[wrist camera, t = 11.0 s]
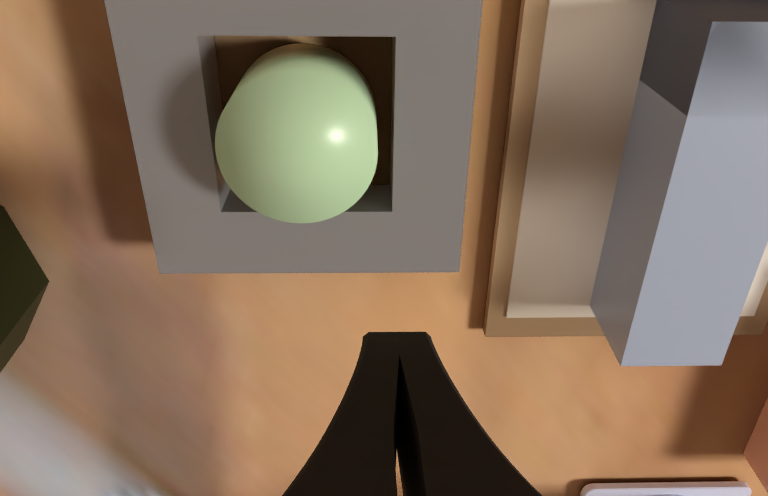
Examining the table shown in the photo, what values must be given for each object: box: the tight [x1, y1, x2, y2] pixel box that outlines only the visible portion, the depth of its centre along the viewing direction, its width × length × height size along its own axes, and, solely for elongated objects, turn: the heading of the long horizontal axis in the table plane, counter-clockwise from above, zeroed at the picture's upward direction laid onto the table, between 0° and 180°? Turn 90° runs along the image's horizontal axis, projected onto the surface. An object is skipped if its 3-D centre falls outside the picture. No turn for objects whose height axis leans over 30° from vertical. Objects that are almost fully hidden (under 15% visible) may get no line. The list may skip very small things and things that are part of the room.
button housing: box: [104, 0, 483, 274], centre depth 20 cm, size 10×10×2 cm
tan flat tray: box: [483, 0, 768, 337], centre depth 21 cm, size 14×11×1 cm
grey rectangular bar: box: [590, 0, 768, 366], centre depth 20 cm, size 11×3×3 cm, turn 179°
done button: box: [215, 43, 378, 223], centre depth 19 cm, size 4×4×3 cm
